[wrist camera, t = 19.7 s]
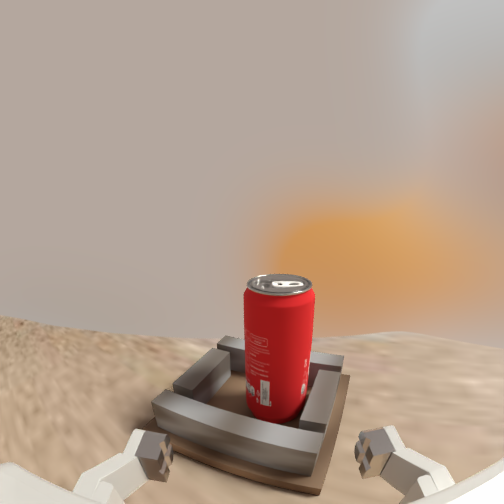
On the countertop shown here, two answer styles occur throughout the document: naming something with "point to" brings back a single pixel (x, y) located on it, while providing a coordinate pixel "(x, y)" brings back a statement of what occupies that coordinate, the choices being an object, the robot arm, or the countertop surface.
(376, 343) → the countertop surface
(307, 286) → the beverage can
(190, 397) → the socket block
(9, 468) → the robot arm
